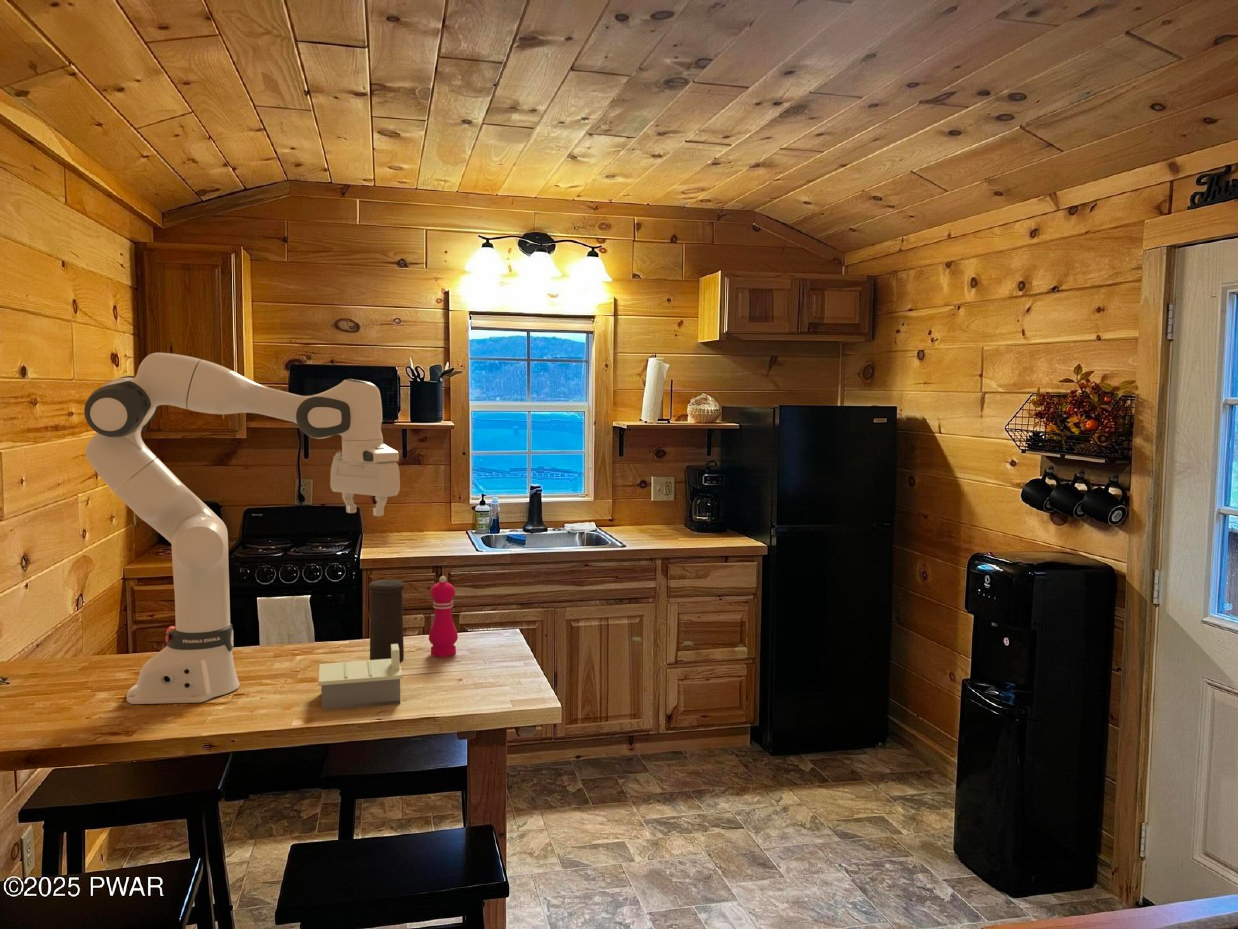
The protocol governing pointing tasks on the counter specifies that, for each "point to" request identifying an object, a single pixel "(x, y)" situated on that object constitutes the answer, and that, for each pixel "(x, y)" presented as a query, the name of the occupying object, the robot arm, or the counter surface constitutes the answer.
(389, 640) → the container
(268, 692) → the counter surface
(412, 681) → the counter surface
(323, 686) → the tub
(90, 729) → the counter surface
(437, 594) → the pepper mill
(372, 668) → the lid
